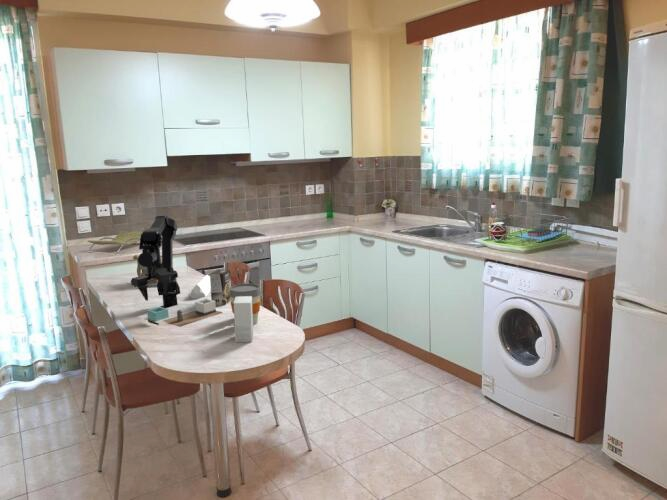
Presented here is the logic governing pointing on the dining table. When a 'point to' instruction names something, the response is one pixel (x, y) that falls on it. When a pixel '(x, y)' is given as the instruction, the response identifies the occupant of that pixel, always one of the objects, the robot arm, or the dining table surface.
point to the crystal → (201, 288)
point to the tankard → (144, 271)
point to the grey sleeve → (205, 307)
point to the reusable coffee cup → (247, 291)
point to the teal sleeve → (157, 314)
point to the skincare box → (243, 319)
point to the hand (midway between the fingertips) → (156, 297)
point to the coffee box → (220, 286)
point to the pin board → (188, 318)
